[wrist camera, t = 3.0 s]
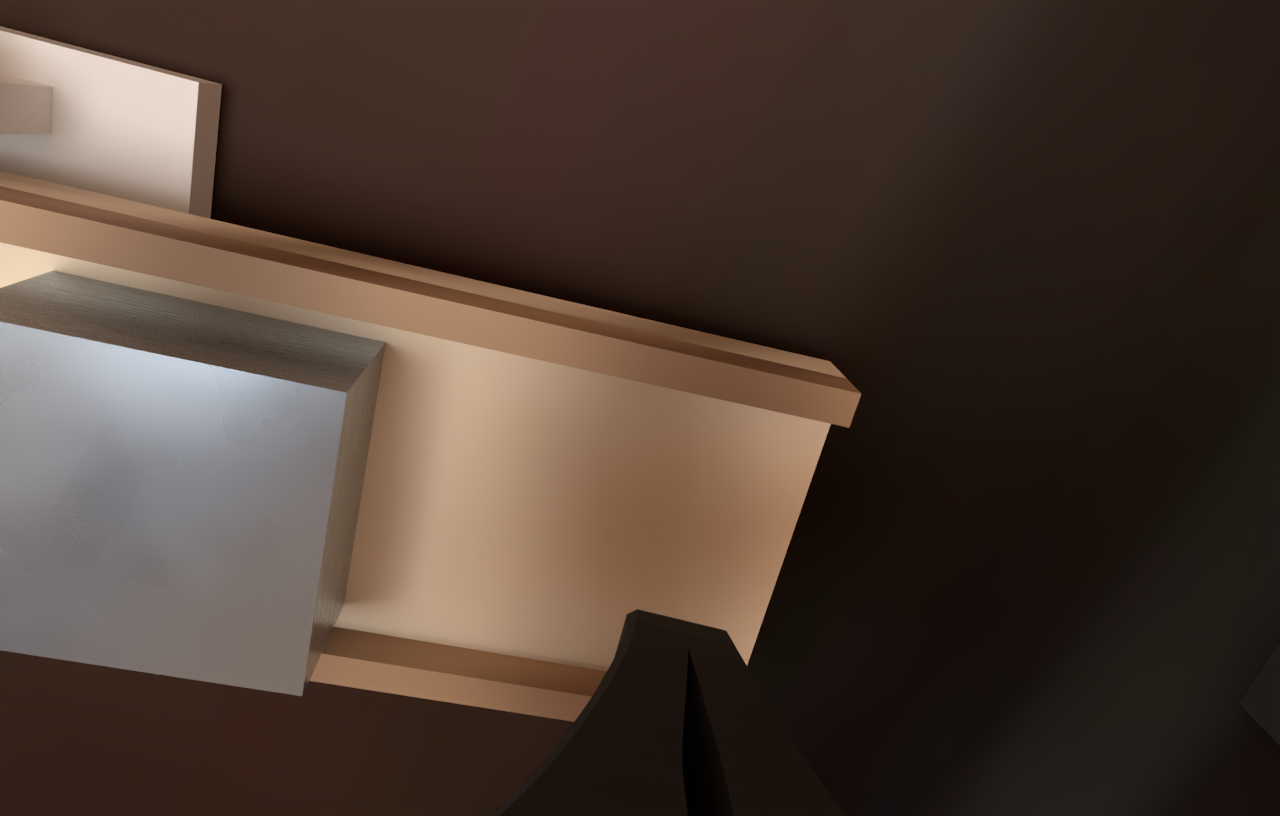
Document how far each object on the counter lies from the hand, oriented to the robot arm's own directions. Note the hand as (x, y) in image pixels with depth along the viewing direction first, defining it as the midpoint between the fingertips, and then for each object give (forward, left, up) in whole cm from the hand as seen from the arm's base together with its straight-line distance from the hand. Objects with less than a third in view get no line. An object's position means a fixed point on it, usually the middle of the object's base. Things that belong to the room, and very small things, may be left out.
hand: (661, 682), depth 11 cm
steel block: (0, +8, -3) cm, 9 cm away
